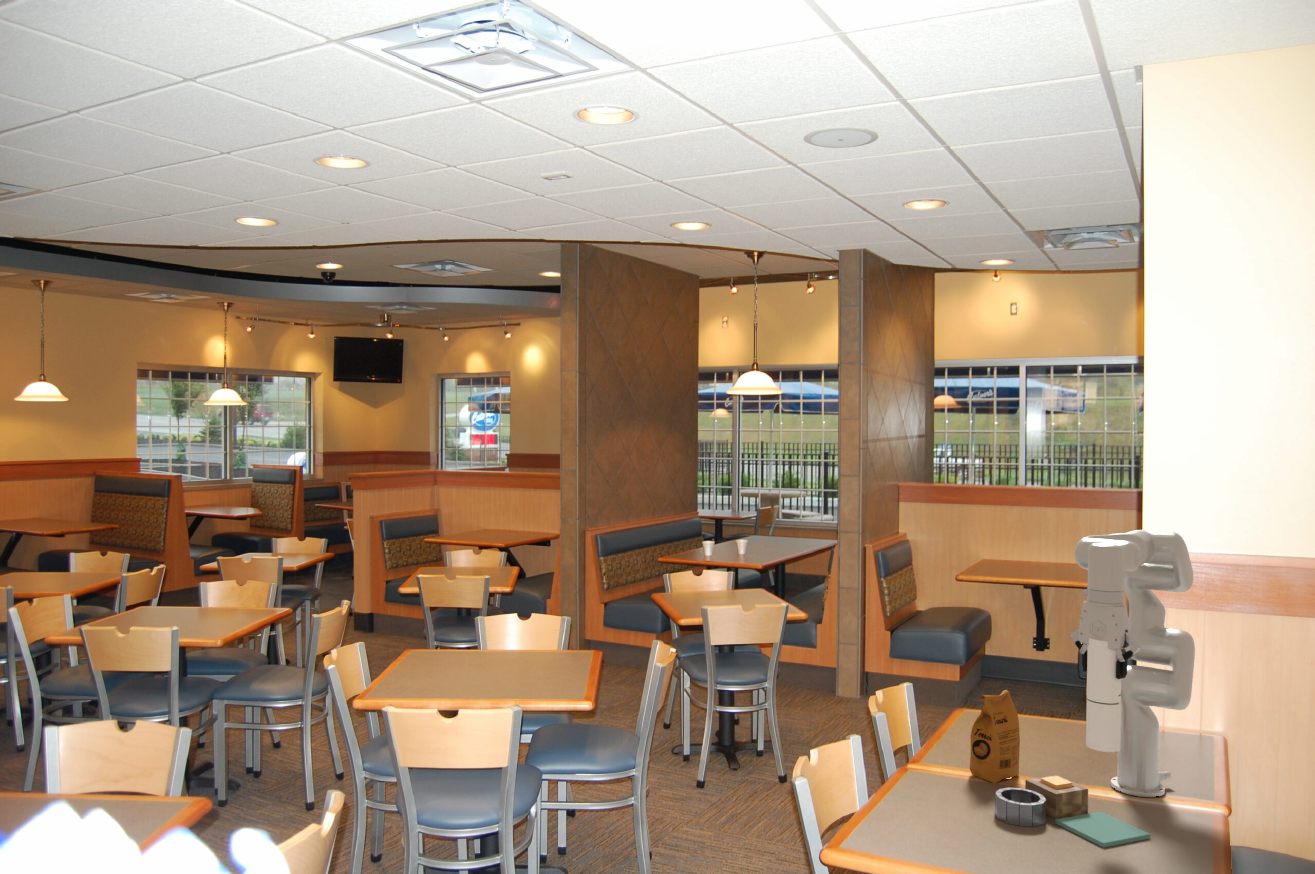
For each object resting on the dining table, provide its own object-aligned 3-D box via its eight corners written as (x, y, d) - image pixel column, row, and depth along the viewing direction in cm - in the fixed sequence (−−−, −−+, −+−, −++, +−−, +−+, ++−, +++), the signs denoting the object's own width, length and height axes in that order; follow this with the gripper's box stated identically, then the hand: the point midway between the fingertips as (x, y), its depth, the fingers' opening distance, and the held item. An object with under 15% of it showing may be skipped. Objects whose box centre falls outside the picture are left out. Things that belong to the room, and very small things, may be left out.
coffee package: (963, 773, 261) (964, 691, 261) (993, 765, 268) (995, 685, 268) (994, 785, 253) (995, 700, 253) (1024, 776, 259) (1026, 694, 259)
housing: (1056, 798, 244) (1056, 774, 244) (1087, 813, 234) (1088, 788, 234) (1025, 804, 240) (1025, 779, 240) (1055, 819, 231) (1056, 793, 231)
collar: (1021, 805, 239) (1022, 785, 239) (1055, 822, 229) (1055, 801, 229) (985, 811, 235) (986, 790, 235) (1018, 829, 225) (1018, 807, 225)
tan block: (1056, 797, 240) (1056, 775, 240) (1072, 805, 236) (1072, 782, 236) (1040, 800, 239) (1040, 778, 239) (1056, 807, 234) (1056, 785, 234)
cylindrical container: (1124, 746, 224) (1125, 638, 224) (1114, 754, 219) (1116, 642, 219) (1091, 739, 229) (1093, 633, 229) (1081, 747, 224) (1083, 638, 224)
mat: (1100, 815, 233) (1100, 811, 233) (1150, 838, 220) (1150, 833, 220) (1055, 823, 228) (1055, 819, 228) (1103, 847, 215) (1103, 842, 215)
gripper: (1060, 593, 229) (1059, 669, 229) (1134, 604, 215) (1133, 684, 215) (1078, 590, 233) (1077, 664, 233) (1151, 601, 219) (1150, 680, 219)
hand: (1104, 673), depth 224 cm, fingers closed on cylindrical container, 7 cm apart
